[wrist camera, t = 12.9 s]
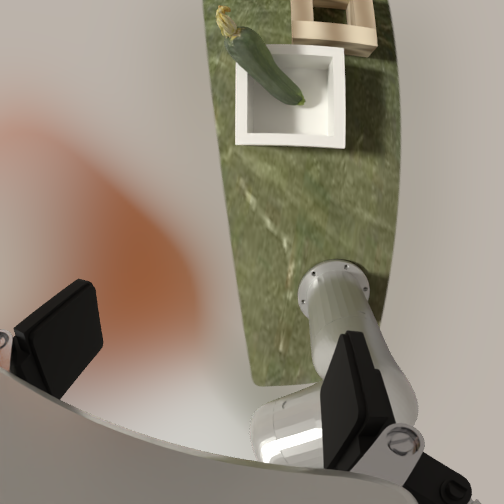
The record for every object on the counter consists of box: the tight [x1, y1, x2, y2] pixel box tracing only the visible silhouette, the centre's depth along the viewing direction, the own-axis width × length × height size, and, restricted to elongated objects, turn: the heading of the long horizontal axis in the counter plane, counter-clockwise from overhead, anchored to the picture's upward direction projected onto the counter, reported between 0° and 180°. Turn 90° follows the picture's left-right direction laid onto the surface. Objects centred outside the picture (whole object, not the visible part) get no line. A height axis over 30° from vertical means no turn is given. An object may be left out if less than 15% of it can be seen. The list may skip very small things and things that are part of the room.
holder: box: [291, 0, 378, 58], centre depth 33 cm, size 12×12×6 cm
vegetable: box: [215, 5, 306, 106], centre depth 32 cm, size 4×4×20 cm
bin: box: [235, 44, 346, 149], centre depth 37 cm, size 14×14×8 cm
